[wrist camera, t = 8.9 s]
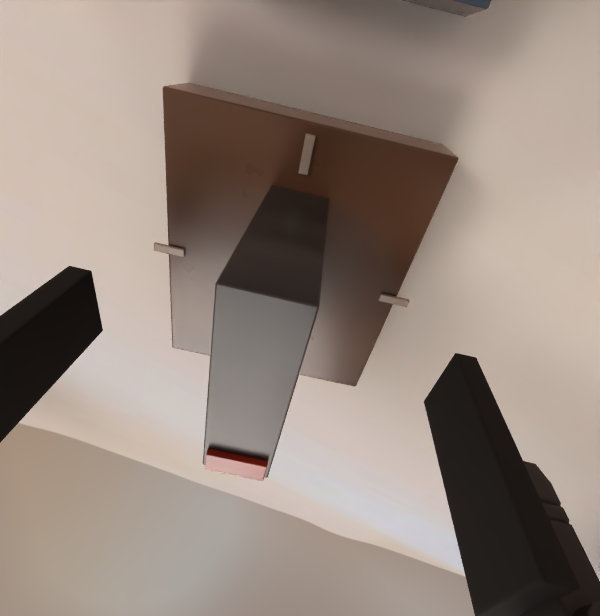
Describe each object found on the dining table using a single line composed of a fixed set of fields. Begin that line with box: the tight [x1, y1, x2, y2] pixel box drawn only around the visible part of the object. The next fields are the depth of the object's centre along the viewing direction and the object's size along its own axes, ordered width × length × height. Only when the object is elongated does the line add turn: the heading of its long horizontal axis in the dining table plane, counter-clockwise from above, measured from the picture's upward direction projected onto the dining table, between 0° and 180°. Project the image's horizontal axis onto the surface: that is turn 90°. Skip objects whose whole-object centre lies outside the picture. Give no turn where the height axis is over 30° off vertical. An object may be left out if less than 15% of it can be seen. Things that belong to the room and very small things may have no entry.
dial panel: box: [154, 83, 458, 386], centre depth 17 cm, size 13×12×3 cm
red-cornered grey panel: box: [203, 185, 329, 481], centre depth 13 cm, size 8×2×8 cm, turn 168°
